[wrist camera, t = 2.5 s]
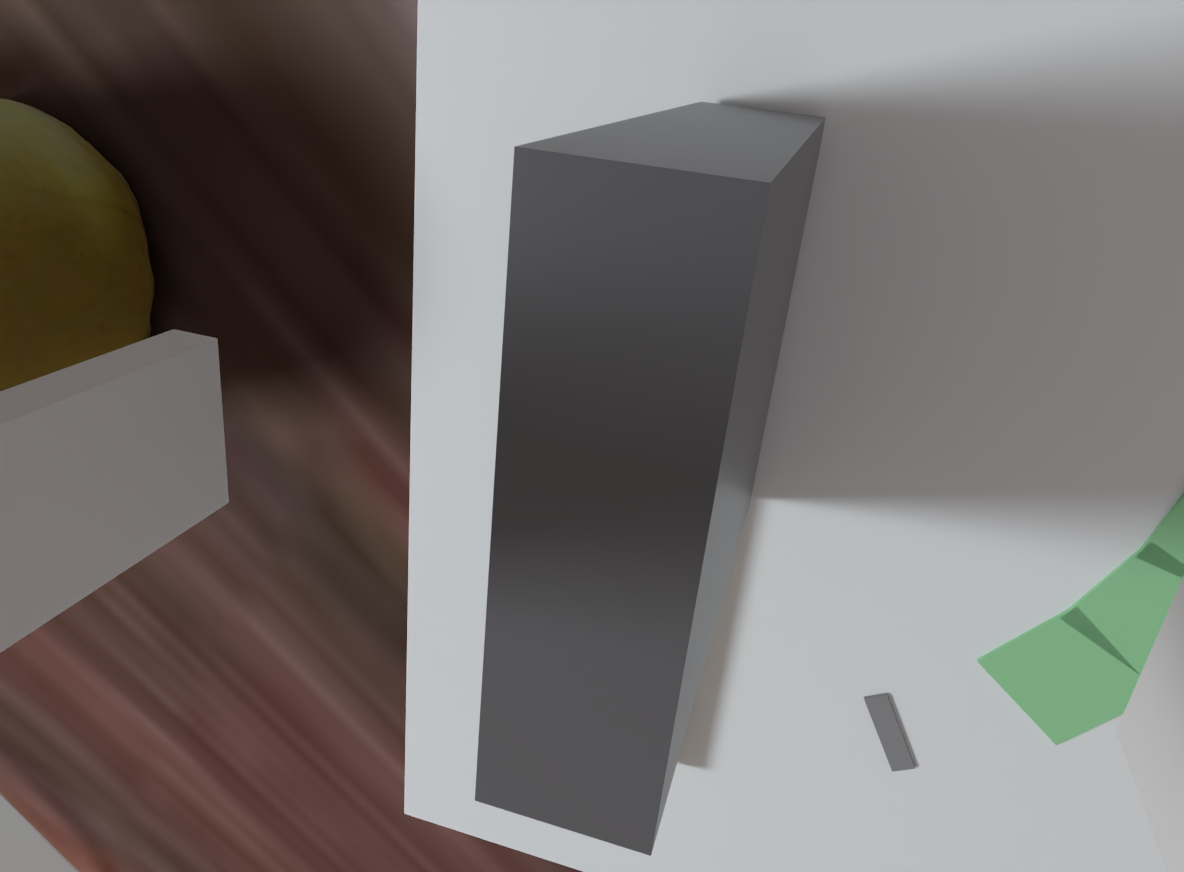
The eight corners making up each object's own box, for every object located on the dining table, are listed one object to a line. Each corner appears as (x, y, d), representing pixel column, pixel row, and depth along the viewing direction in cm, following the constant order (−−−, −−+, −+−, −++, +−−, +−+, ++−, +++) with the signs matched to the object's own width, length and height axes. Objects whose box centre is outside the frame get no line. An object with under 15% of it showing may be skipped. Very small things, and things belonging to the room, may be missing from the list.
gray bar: (700, 101, 19) (515, 146, 9) (826, 117, 18) (770, 183, 8) (609, 751, 26) (452, 1159, 16) (696, 776, 26) (587, 1215, 16)
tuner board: (441, -157, 20) (418, -168, 19) (1662, -78, 15) (1719, -88, 14) (417, 792, 31) (402, 816, 30) (1098, 1008, 26) (1107, 1045, 25)
